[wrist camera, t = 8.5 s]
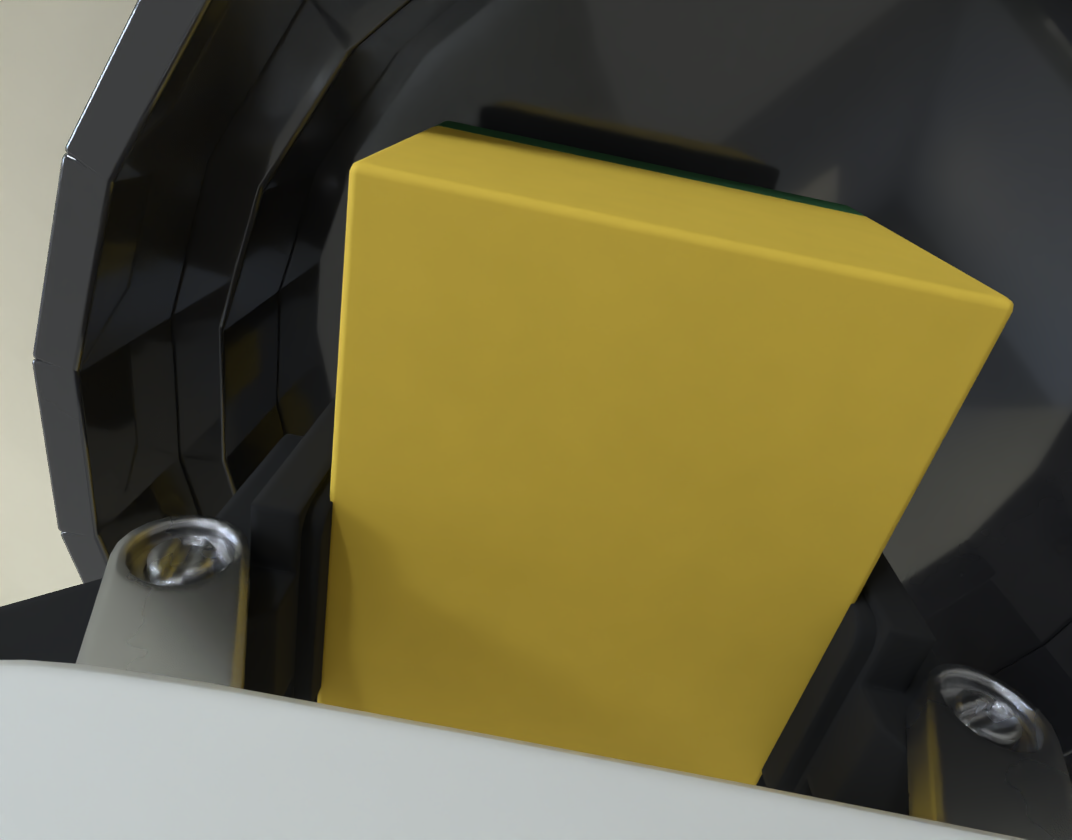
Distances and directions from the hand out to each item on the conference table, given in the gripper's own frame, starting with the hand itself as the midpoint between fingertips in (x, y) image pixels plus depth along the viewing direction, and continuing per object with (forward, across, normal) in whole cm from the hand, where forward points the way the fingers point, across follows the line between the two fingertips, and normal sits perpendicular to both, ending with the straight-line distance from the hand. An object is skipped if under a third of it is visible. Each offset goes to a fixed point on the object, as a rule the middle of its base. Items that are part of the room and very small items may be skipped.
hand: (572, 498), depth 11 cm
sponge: (+1, 0, -1) cm, 1 cm away
